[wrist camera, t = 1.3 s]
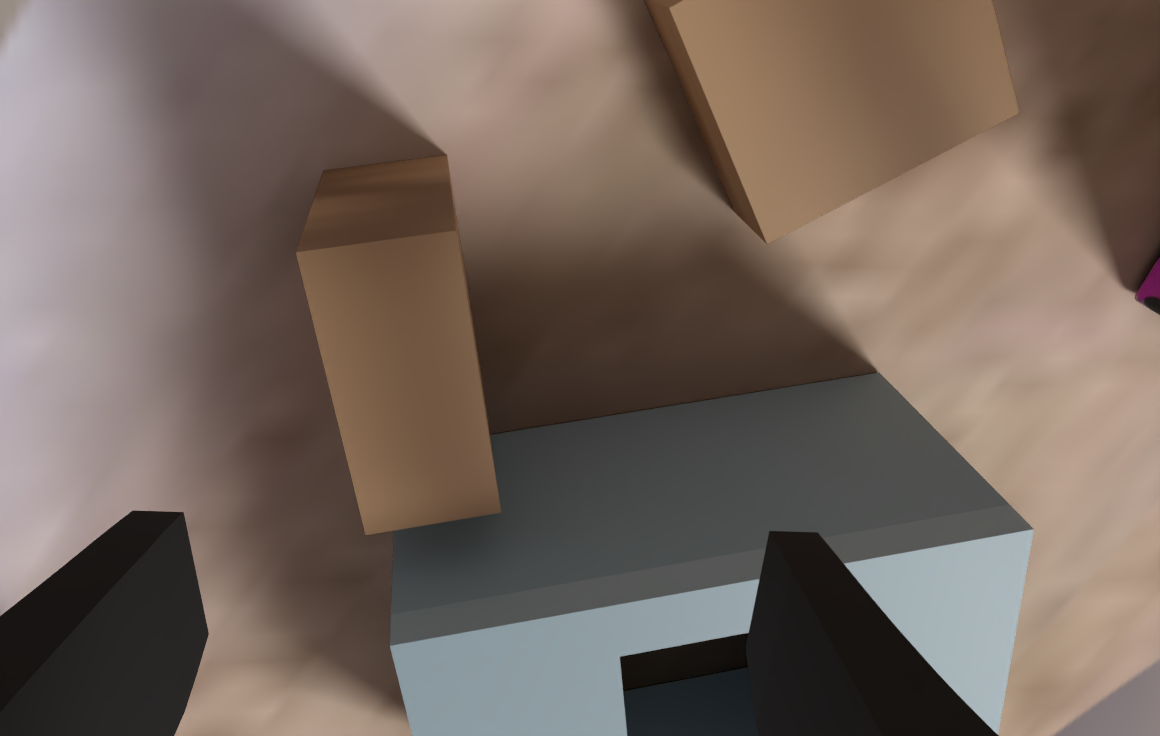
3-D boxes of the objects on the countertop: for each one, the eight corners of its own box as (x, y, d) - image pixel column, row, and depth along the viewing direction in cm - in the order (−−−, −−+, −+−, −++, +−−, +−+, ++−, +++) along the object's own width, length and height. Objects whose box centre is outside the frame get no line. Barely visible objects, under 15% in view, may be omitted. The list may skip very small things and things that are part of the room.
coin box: (460, 742, 26) (472, 975, 21) (396, 450, 22) (390, 646, 16) (858, 665, 28) (974, 866, 22) (879, 372, 23) (1033, 529, 17)
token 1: (375, 403, 21) (365, 535, 17) (323, 169, 19) (295, 252, 14) (483, 387, 21) (501, 512, 17) (446, 154, 19) (456, 230, 14)
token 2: (730, 207, 21) (766, 244, 18) (639, -5, 18) (669, 8, 16) (954, 90, 20) (1019, 112, 18) (890, -143, 18) (956, -150, 16)
